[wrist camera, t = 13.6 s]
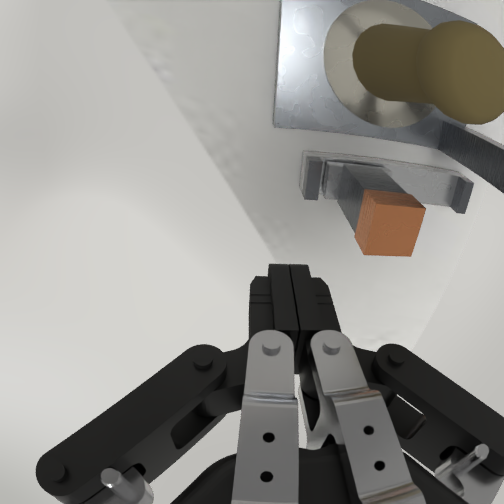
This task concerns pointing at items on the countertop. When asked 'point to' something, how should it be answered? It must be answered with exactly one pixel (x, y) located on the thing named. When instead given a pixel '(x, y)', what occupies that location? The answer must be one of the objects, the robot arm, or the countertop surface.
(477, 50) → the cork
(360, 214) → the lever
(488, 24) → the countertop surface
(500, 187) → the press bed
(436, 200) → the lever rail
